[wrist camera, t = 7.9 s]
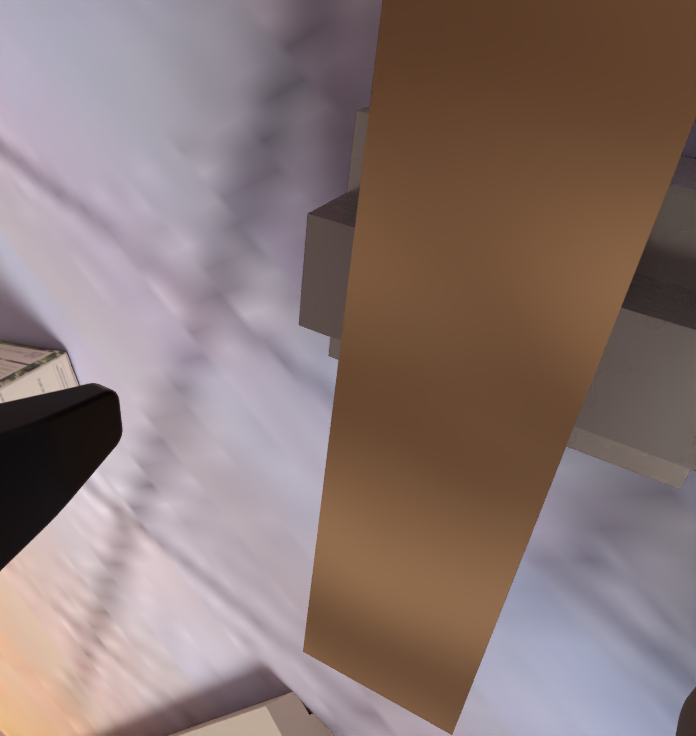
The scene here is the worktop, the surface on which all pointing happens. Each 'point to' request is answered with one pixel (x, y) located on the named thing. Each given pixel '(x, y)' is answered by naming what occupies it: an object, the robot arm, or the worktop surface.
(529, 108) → the walnut bar
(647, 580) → the worktop surface
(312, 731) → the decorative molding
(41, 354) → the syrup box
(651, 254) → the ridge block
